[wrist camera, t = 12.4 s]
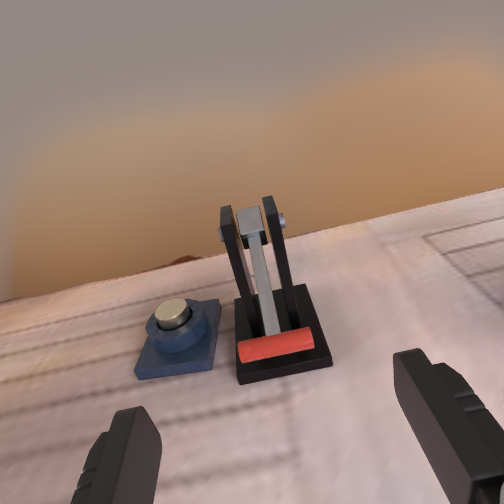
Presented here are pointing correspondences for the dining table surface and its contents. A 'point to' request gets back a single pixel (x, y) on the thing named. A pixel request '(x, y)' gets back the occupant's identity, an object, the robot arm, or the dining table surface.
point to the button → (172, 314)
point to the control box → (181, 343)
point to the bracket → (286, 303)
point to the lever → (266, 298)
